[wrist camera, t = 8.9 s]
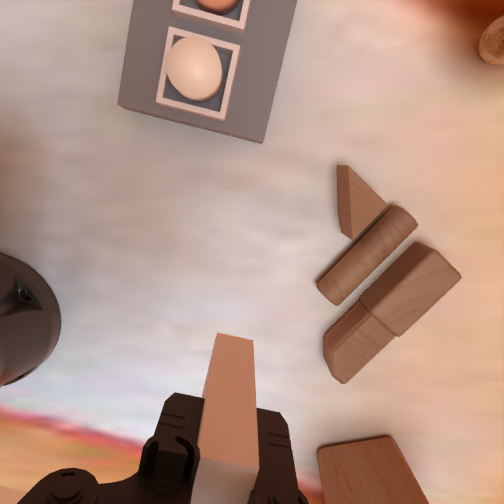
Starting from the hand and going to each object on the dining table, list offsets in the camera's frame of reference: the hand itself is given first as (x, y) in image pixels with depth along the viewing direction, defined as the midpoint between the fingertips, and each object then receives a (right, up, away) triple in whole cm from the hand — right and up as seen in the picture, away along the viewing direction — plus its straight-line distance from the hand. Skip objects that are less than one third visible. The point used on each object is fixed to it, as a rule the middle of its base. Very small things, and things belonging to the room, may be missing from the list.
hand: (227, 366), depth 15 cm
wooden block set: (+11, +3, +27) cm, 30 cm away
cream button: (-4, +20, +18) cm, 27 cm away
